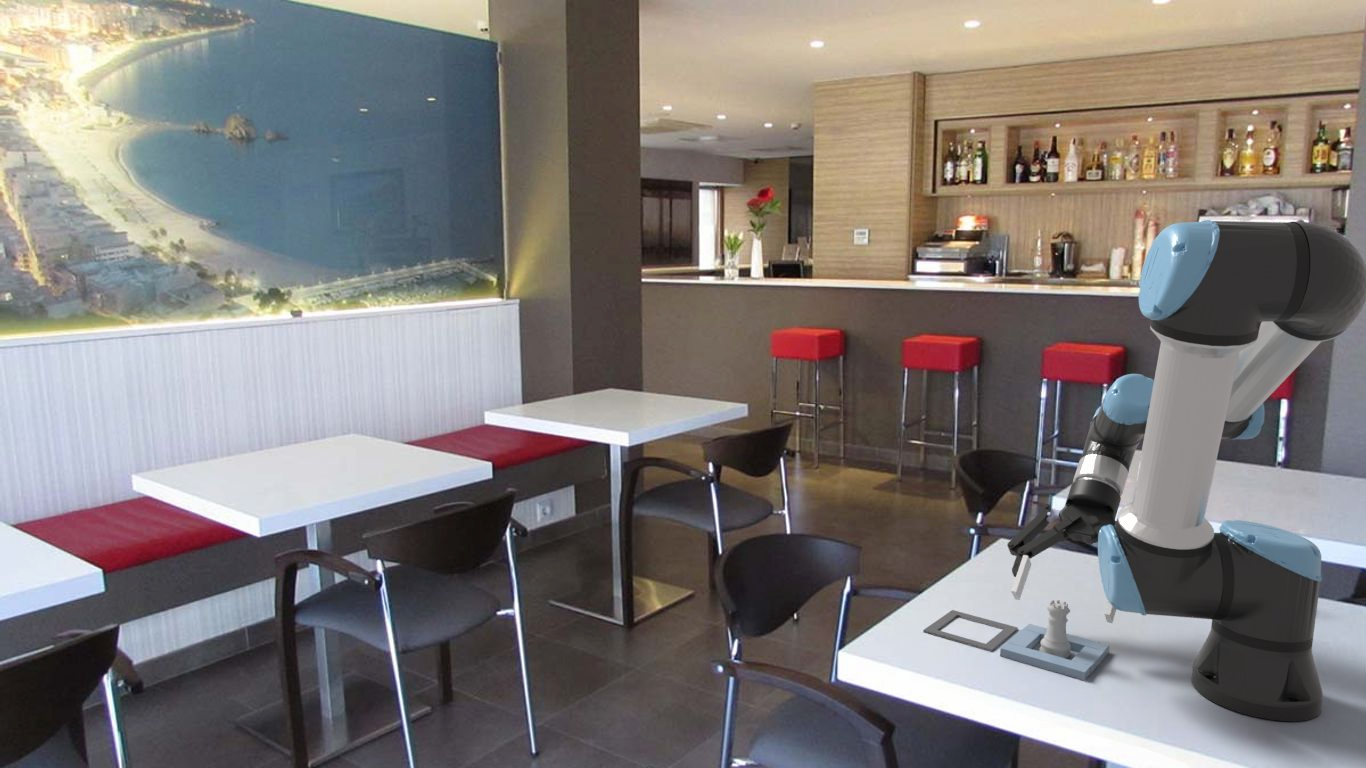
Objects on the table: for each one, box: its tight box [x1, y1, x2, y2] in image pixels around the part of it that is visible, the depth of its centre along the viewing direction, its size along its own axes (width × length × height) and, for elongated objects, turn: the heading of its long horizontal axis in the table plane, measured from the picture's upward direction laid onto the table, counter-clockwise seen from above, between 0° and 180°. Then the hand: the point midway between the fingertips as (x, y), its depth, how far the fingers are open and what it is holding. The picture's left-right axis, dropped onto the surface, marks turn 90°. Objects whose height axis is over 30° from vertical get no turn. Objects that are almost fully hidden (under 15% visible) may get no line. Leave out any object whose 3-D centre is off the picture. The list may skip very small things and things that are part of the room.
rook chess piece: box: [1039, 599, 1072, 659], centre depth 137 cm, size 4×4×8 cm
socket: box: [999, 623, 1110, 681], centre depth 138 cm, size 12×12×1 cm
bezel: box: [922, 609, 1019, 652], centre depth 146 cm, size 11×11×1 cm
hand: (1060, 606), depth 139 cm, fingers open, 13 cm apart
